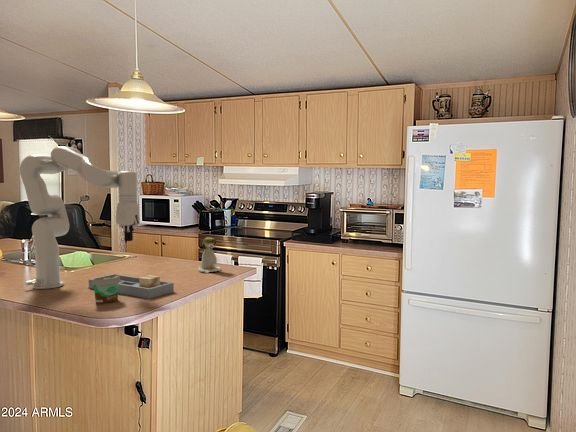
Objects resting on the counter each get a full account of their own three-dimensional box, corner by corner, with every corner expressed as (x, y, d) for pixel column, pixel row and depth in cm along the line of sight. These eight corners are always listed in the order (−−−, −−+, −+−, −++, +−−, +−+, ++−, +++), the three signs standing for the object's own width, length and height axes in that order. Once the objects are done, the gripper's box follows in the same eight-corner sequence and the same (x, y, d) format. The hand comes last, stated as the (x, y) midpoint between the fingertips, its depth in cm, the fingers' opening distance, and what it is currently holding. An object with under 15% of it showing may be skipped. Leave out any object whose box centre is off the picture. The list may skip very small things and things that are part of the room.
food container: (105, 306, 172) (104, 280, 171) (92, 304, 174) (92, 279, 174) (127, 298, 184) (127, 274, 183) (115, 297, 186) (115, 273, 185)
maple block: (149, 290, 189) (149, 279, 189) (139, 289, 192) (139, 277, 192) (159, 287, 194) (159, 276, 194) (149, 286, 197) (149, 275, 197)
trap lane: (149, 298, 184) (149, 289, 183) (88, 287, 202) (88, 279, 202) (173, 291, 196) (173, 282, 196) (114, 282, 214) (114, 273, 214)
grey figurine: (196, 273, 236) (195, 238, 235) (200, 268, 249) (200, 235, 248) (218, 273, 236) (218, 238, 235) (222, 268, 249) (222, 235, 248)
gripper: (109, 199, 196) (110, 240, 198) (133, 200, 189) (133, 243, 191) (123, 198, 203) (123, 238, 204) (146, 199, 196) (147, 241, 197)
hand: (128, 240), depth 197 cm, fingers closed
